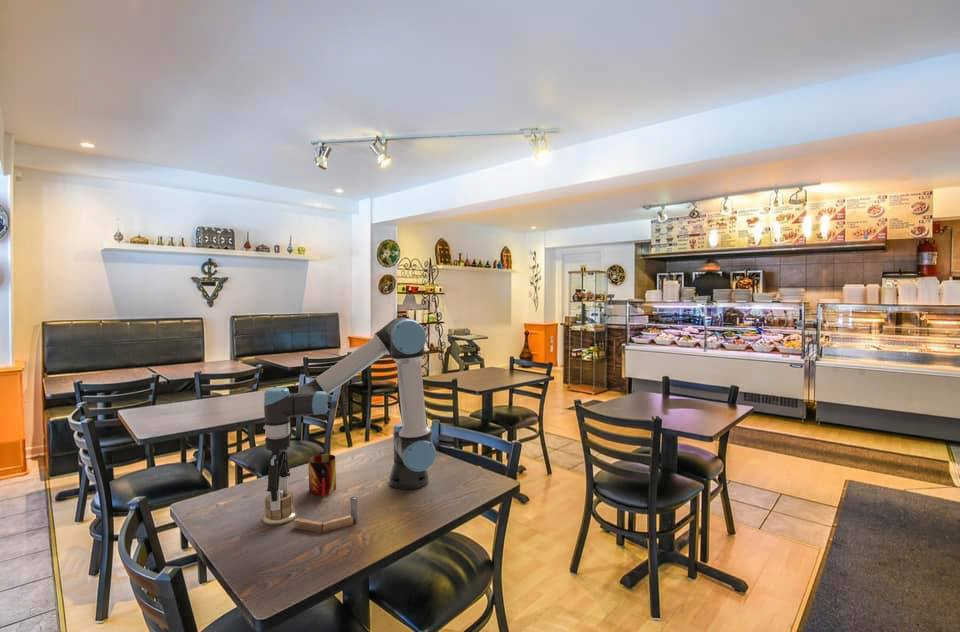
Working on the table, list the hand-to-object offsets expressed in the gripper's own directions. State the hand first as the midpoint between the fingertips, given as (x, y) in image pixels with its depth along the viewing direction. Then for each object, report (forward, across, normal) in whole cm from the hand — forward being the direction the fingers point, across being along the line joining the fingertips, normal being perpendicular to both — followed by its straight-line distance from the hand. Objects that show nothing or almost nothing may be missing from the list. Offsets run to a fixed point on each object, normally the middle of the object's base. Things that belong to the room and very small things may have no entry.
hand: (279, 502), depth 155 cm
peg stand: (+5, 0, 0) cm, 5 cm away
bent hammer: (+5, +9, +16) cm, 19 cm away
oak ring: (+4, 0, 0) cm, 4 cm away
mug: (+5, -19, +11) cm, 23 cm away
